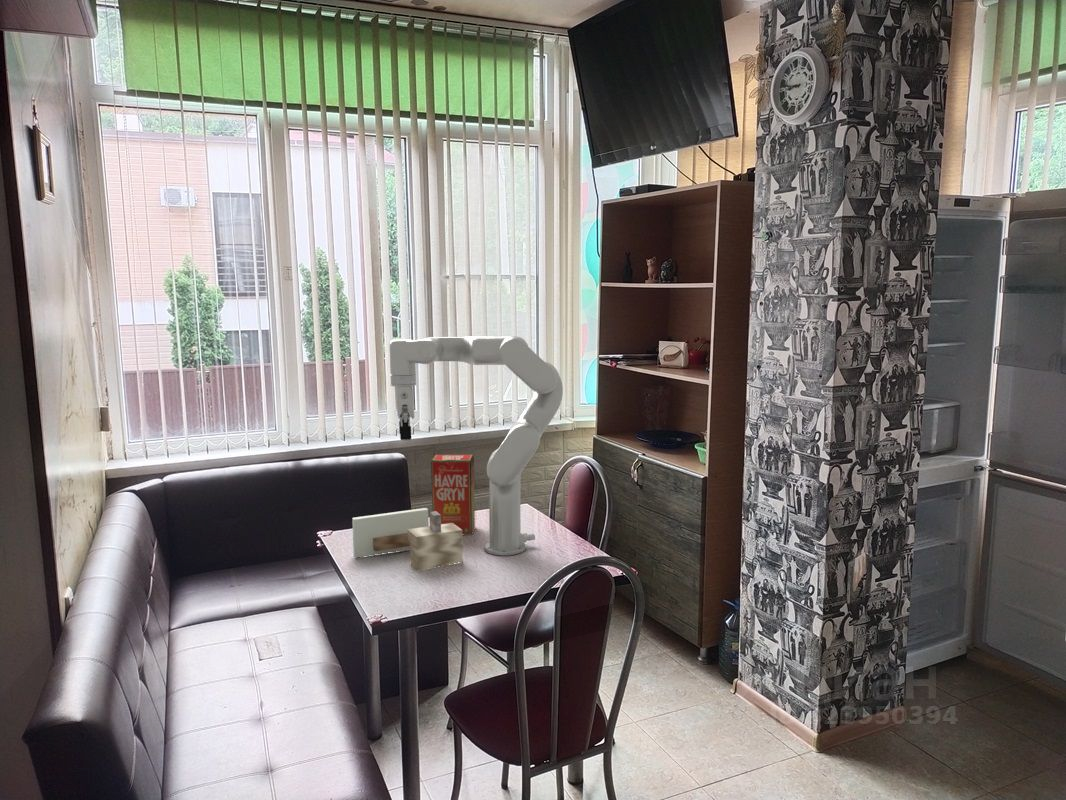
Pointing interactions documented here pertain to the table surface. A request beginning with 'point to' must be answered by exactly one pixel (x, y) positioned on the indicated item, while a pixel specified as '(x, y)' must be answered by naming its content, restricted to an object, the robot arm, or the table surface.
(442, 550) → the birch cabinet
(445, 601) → the table surface
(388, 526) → the wall board
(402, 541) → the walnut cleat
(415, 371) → the robot arm
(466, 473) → the food packaging
